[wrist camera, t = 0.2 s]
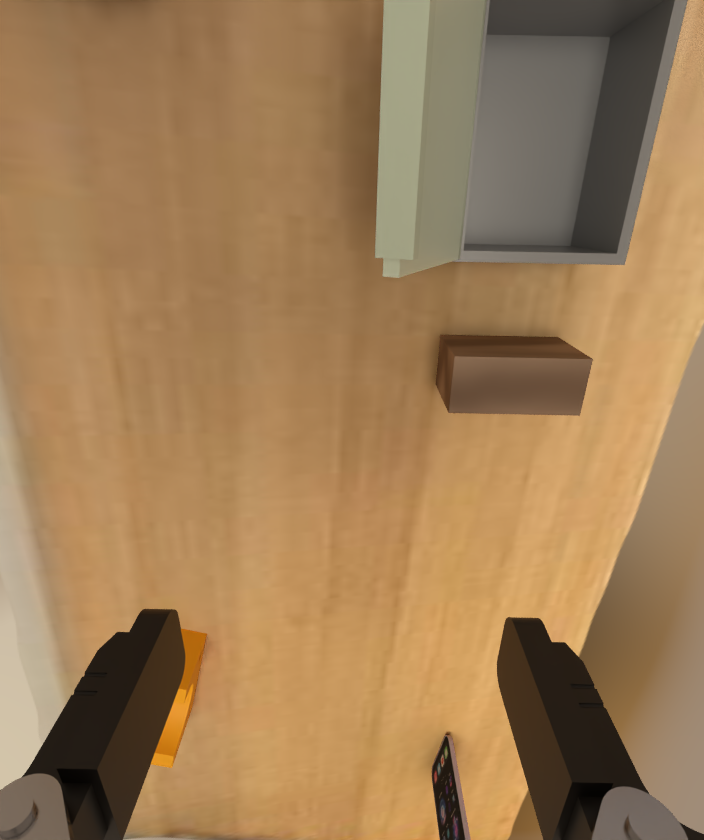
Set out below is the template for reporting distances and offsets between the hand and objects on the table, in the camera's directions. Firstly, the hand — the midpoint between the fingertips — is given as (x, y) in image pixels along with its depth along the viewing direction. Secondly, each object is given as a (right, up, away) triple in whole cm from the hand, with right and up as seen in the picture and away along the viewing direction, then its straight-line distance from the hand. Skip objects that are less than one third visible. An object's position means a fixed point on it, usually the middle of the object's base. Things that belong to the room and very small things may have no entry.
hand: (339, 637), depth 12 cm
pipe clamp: (-18, -21, +40) cm, 49 cm away
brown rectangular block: (+12, +10, +26) cm, 30 cm away
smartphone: (+11, -34, +45) cm, 58 cm away
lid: (+5, +18, +8) cm, 21 cm away
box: (+11, +23, +20) cm, 32 cm away
